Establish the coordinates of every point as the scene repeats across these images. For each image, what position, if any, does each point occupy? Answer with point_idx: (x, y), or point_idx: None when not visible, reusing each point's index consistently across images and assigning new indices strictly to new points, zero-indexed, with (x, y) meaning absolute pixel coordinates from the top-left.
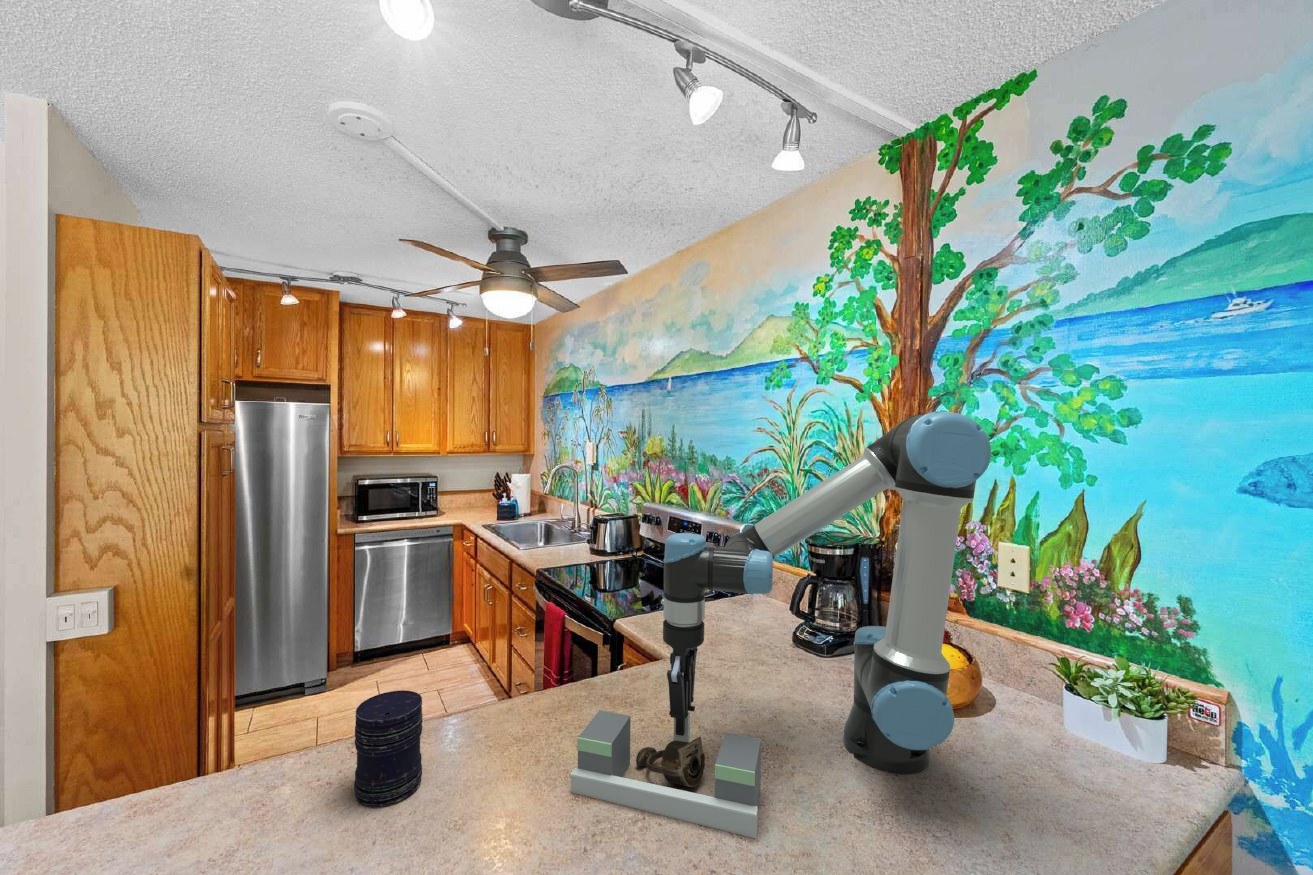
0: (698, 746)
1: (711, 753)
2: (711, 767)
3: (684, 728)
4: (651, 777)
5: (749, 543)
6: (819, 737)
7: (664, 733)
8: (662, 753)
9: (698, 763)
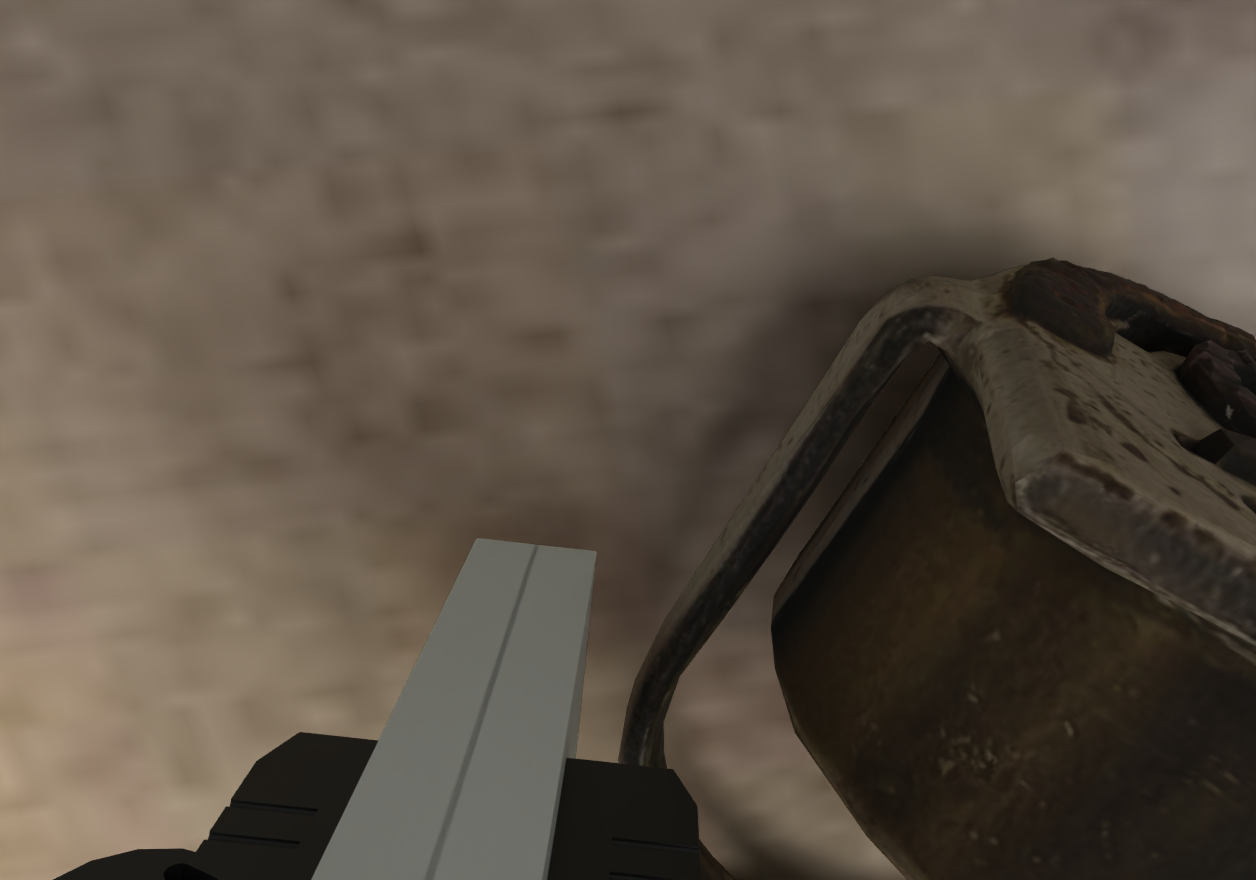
0: (1175, 454)
1: (296, 204)
2: (618, 171)
3: (585, 828)
4: None
5: None
6: None
7: (65, 844)
8: None
9: (1231, 370)
